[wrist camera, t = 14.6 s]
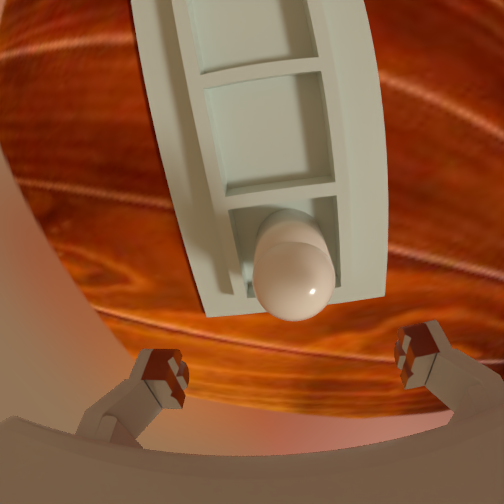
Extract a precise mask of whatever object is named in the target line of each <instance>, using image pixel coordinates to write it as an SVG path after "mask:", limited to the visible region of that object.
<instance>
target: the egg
mask: <svg viewBox="0 0 504 504" xmlns="http://www.w3.org/2000/svg"><path fill="white" fill-rule="evenodd" d="M252 284H253V289H254V293H255V296H256V298H257V300H258V301H259V303H260V305H261V306H262V307H263V308H264V309H265V310H266V311H267V312H268V313H270V314H271V315H273V316H275V317H277V318H279V319H282V320H286V321H300V320H305V319H308V318H311V317H313V316H315V315H316V314H318V313H319V312H320V311H321V310H323V309H324V307H325V306H326V305H327V304H328V302H329V301H330V299H331V297H332V295H333V292H334V288H335V270H334V266H333V263H332V260H331V257H330V254H329V252H328V249H327V246H326V243H325V240H324V237H323V234H322V232H321V229H320V227H319V225H318V223H317V221H316V220H315V219H314V218H313V217H312V216H310V215H309V214H307V213H306V212H303V211H301V210H297V209H283V210H279V211H276V212H274V213H272V214H270V215H269V216H268V217H266V218H265V219H264V220H263V222H262V223H261V224H260V226H259V228H258V231H257V235H256V244H255V255H254V265H253V275H252Z"/></svg>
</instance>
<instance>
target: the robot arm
mask: <svg viewBox="0 0 504 504" xmlns="http://www.w3.org/2000/svg"><path fill="white" fill-rule="evenodd" d="M397 336H398V339H399V340H398V341H397V342H396V343H395V348H394V357H395V362H396V365H397V367H398V368H399V369H401V370H402V372H401V375H400V377H401V380H402V383H403V385H404V388H405V389H410V388H415V387H420V386H424V385H425V387H426V388H427V389H429V390H430V391H431V392H432V393H433V394H434V395H435V396H436V397H438V398H439V399H440V400H441V401H442V402H443V403H444V404H445V405H447V406H448V407H449V408H450V409H451V410H452V411H453V412H454V414H453V416H452V418H451V419H450V421H449V423H448V424H447V425H445V426H441V427H438V428H435V429H432V430H428V431H425V432H421V433H417V434H413V435H410V436H406V437H402V438H397V439H394V440H389V441H384V442H379V443H374V444H369V445H363V446H358V447H352V448H345V449H338V450H331V451H322V452H313V453H303V454H290V455H271V456H215V455H196V454H184V453H183V454H182V453H173V452H163V451H156V450H148V449H143V447H142V446H141V445H140V444H139V443H138V442H137V441H136V440H135V439H136V438H137V437H138V436H139V435H140V433H141V432H142V431H143V430H144V429H145V428H146V427H147V426H148V425H149V424H150V423H151V421H152V420H153V419H154V418H155V417H156V416H157V415H158V414H159V413H160V412H161V410H162V408H167V409H182V408H183V403H184V399H185V394H184V392H183V390H184V389H185V388H186V387H187V386H188V383H189V371H188V367H187V365H186V363H184V362H183V361H182V360H181V359H182V354H181V352H180V350H178V349H142V350H141V351H140V353H139V355H138V357H137V360H136V362H135V365H134V367H133V369H132V372H131V374H130V377H129V379H125V380H124V381H122V382H121V383H120V384H119V385H118V386H116V387H115V388H114V389H112V390H111V391H110V392H109V393H107V394H106V395H105V396H104V397H102V398H101V399H100V400H99V401H97V402H96V403H95V404H93V405H92V406H91V407H90V408H88V409H87V410H86V411H85V413H84V415H83V417H82V420H81V422H80V424H79V426H78V429H77V431H76V433H75V435H74V434H70V433H67V432H63V431H59V430H56V429H52V428H50V427H46V426H43V425H40V424H37V423H34V422H31V421H29V420H26V419H23V418H21V417H18V416H11V417H9V418H7V419H5V420H3V421H2V422H0V504H504V382H503V380H502V378H501V376H500V375H499V374H497V373H496V372H494V371H492V370H491V369H489V368H487V367H486V366H484V365H482V364H481V363H479V362H478V361H476V360H474V359H473V358H471V357H469V356H468V355H466V354H464V353H463V352H461V351H459V350H458V349H452V347H451V345H450V343H449V341H448V339H447V337H446V336H445V334H444V332H443V330H442V328H441V327H440V325H439V323H438V321H436V320H433V321H428V322H424V323H418V324H414V325H409V326H404V327H400V328H399V329H398V333H397Z"/></svg>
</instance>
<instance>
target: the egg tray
mask: <svg viewBox="0 0 504 504" xmlns="http://www.w3.org/2000/svg"><path fill="white" fill-rule="evenodd" d="M131 4H132V11H133V18H134V24H135V31H136V37H137V43H138V49H139V54H140V60H141V65H142V71H143V76H144V81H145V86H146V91H147V96H148V101H149V105H150V110H151V115H152V119H153V124H154V128H155V133H156V137H157V141H158V146H159V150H160V154H161V158H162V162H163V166H164V170H165V174H166V178H167V182H168V186H169V190H170V194H171V198H172V202H173V205H174V209H175V213H176V216H177V220H178V224H179V227H180V231H181V234H182V238H183V241H184V245H185V248H186V252H187V255H188V258H189V262H190V265H191V268H192V272H193V275H194V278H195V282H196V285H197V288H198V291H199V294H200V297H201V301H202V304H203V307H204V310H205V313H206V316H207V317H218V316H229V315H240V314H251V313H261V312H267V311H266V310H265V309H264V308H263V307H262V306H261V305H260V303H259V301H258V300H257V298H256V296H255V293H254V289H253V284H252V275H253V265H254V255H255V244H256V235H257V231H258V228H259V226H260V224H261V223H262V222H263V220H264V219H265V218H266V217H268V216H269V215H270V214H272V213H274V212H276V211H279V210H283V209H297V210H301V211H303V212H306V213H307V214H309V215H310V216H312V217H313V218H314V219H315V220H316V221H317V223H318V225H319V227H320V229H321V232H322V234H323V237H324V240H325V243H326V246H327V249H328V252H329V254H330V257H331V260H332V263H333V266H334V270H335V288H334V292H333V295H332V297H331V299H330V301H329V302H328V304H335V303H342V302H349V301H356V300H363V299H369V298H375V297H382V296H385V285H386V270H387V249H388V176H387V155H386V140H385V128H384V117H383V108H382V99H381V91H380V84H379V77H378V70H377V64H376V58H375V52H374V46H373V41H372V36H371V31H370V26H369V22H368V17H367V13H366V9H365V5H364V1H363V0H131ZM328 304H327V305H328Z"/></svg>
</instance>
